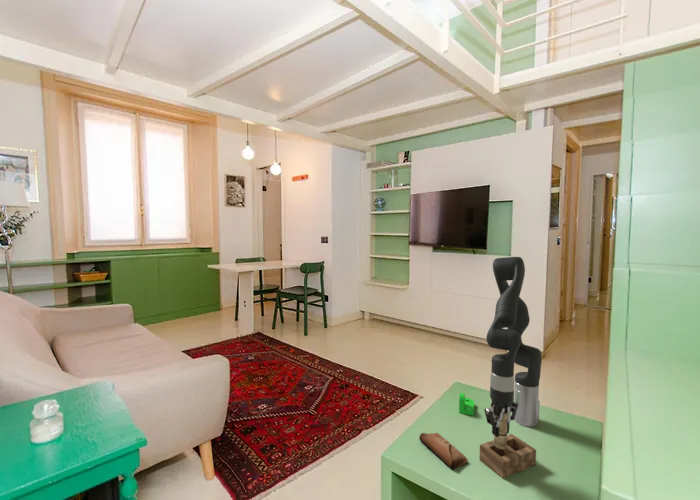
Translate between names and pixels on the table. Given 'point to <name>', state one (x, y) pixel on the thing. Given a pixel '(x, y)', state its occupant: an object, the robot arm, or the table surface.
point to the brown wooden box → (508, 456)
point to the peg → (501, 433)
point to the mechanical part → (466, 405)
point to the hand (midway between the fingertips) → (500, 433)
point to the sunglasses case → (443, 450)
